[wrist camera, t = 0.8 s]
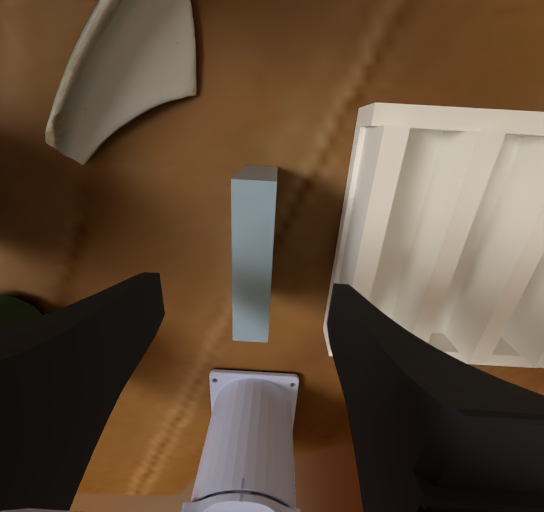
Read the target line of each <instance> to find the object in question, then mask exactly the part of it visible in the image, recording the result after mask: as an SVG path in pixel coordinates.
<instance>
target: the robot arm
mask: <svg viewBox="0 0 544 512" xmlns="http://www.w3.org/2000/svg"><path fill="white" fill-rule="evenodd" d="M164 315H165V311H164V304H163V297H162V290H161V282H160V275H159V273H147V272H144V273H141V274H138V275H136V276H134V277H131V278H129V279H127V280H125V281H123V282H120V283H118V284H116V285H114V286H112V287H110V288H108V289H105V290H103V291H101V292H99V293H97V294H94V295H92V296H90V297H87V298H85V299H83V300H80V301H78V302H76V303H74V304H71V305H69V306H66V307H64V308H61V309H59V310H56V311H53V312H50V313H48V314H45V315H42V316H39V317H36V318H33V319H30V320H27V321H24V322H20V323H17V324H14V325H10V326H7V327H3V328H0V512H79V511H69V510H70V507H71V504H72V502H73V499H74V497H75V494H76V492H77V489H78V487H79V484H80V482H81V480H82V477H83V475H84V472H85V470H86V468H87V465H88V463H89V461H90V458H91V456H92V454H93V451H94V449H95V447H96V444H97V442H98V440H99V438H100V436H101V433H102V431H103V429H104V427H105V425H106V422H107V420H108V418H109V416H110V414H111V412H112V410H113V408H114V406H115V404H116V402H117V400H118V398H119V396H120V394H121V392H122V390H123V388H124V386H125V385H126V383H127V381H128V380H129V378H130V376H131V375H132V373H133V372H134V370H135V368H136V367H137V365H138V363H139V362H140V360H141V359H142V357H143V355H144V354H145V352H146V351H147V349H148V347H149V346H150V344H151V342H152V341H153V339H154V337H155V336H156V334H157V331H158V329H159V327H160V325H161V322H162V320H163V317H164ZM327 330H328V337H329V344H330V348H331V352H332V355H333V359H334V362H335V366H336V369H337V373H338V376H339V380H340V383H341V387H342V390H343V394H344V398H345V402H346V406H347V411H348V417H349V422H350V428H351V433H352V439H353V445H354V452H355V457H356V464H357V471H358V477H359V484H360V491H361V498H362V504H363V512H544V396H543V395H541V394H538V393H535V392H533V391H530V390H528V389H525V388H522V387H520V386H517V385H515V384H512V383H509V382H507V381H504V380H502V379H499V378H497V377H495V376H493V375H490V374H488V373H486V372H484V371H481V370H479V369H477V368H475V367H473V366H470V365H468V364H466V363H464V362H462V361H460V360H458V359H456V358H454V357H452V356H450V355H449V354H447V353H445V352H443V351H441V350H439V349H437V348H435V347H434V346H432V345H430V344H428V343H427V342H425V341H423V340H422V339H420V338H419V337H417V336H415V335H414V334H412V333H411V332H409V331H408V330H406V329H405V328H403V327H402V326H400V325H399V324H398V323H396V322H395V321H393V320H392V319H391V318H389V317H388V316H387V315H385V314H384V313H383V312H382V311H380V310H379V309H378V308H377V307H375V306H374V305H373V304H372V303H371V302H369V301H368V300H367V299H366V298H365V297H363V296H362V295H361V294H360V293H359V292H358V291H356V290H355V289H354V288H353V287H351V286H350V285H349V284H337V283H333V289H332V295H331V301H330V307H329V313H328V318H327ZM209 378H210V395H211V411H212V415H211V419H210V424H209V428H208V432H207V436H206V440H205V444H204V448H203V452H202V457H201V461H200V465H199V469H198V473H197V477H196V481H195V485H194V490H193V494H192V498H191V502H184V503H183V507H182V511H181V512H301V510H300V509H296V499H295V476H294V453H293V424H294V417H295V409H296V401H297V393H298V386H299V377H298V375H296V374H287V373H270V372H253V371H236V370H219V369H214V370H211V372H210V375H209ZM292 383H294V384H292ZM80 512H81V511H80Z"/></svg>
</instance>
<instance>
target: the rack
mask: <svg viewBox="0 0 544 512" xmlns="http://www.w3.org/2000/svg"><path fill="white" fill-rule="evenodd" d="M333 283H337V284H349V285H350V286H351V287H353V288H354V289H355V290H356V291H358V292H359V293H360V294H361V295H362V296H363V297H365V298H366V299H367V300H368V301H369V302H371V303H372V304H373V305H374V306H375V307H377V308H378V309H379V310H380V311H382V312H383V313H384V314H385V315H387V316H388V317H389V318H391V319H392V320H393V321H395V322H396V323H398V324H399V325H400V326H402V327H403V328H405V329H406V330H408V331H409V332H411V333H412V334H414V335H415V336H417V337H419V338H420V339H422V340H423V341H425V342H427V343H428V344H430V345H432V346H434V347H435V348H437V349H439V350H441V351H443V352H445V353H447V354H449V355H450V356H452V357H454V358H456V359H458V360H460V361H462V362H464V363H466V364H478V365H495V366H512V367H529V368H544V112H535V111H517V110H500V109H482V108H464V107H446V106H429V105H411V104H393V103H373V104H370V105H367V106H364V107H361V108H359V110H358V116H357V122H356V128H355V134H354V141H353V147H352V153H351V159H350V165H349V171H348V178H347V184H346V190H345V196H344V202H343V208H342V215H341V221H340V227H339V233H338V239H337V245H336V252H335V258H334V264H333V270H332V276H331V282H330V289H329V295H328V301H327V307H326V313H325V320H324V326H323V331H324V335H325V340H326V344H327V349H328V353H329V356H333V355H332V352H331V348H330V344H329V337H328V330H327V318H328V313H329V307H330V301H331V295H332V289H333Z"/></svg>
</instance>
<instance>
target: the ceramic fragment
mask: <svg viewBox="0 0 544 512" xmlns="http://www.w3.org/2000/svg"><path fill="white" fill-rule="evenodd" d="M196 72H197V71H196V41H195V30H194V20H193V13H192V5H191V1H190V0H100V1H99V3H98V4H97V6H96V8H95V10H94V11H93V13H92V15H91V17H90V18H89V20H88V22H87V24H86V26H85V28H84V30H83V32H82V34H81V36H80V38H79V40H78V42H77V44H76V46H75V48H74V51H73V53H72V55H71V57H70V60H69V62H68V64H67V67H66V69H65V72H64V75H63V77H62V80H61V83H60V86H59V88H58V91H57V94H56V97H55V100H54V104H53V107H52V110H51V113H50V117H49V120H48V123H47V127H46V131H45V140H46V143H47V144H49V145H50V146H52V147H54V148H55V149H57V150H58V151H60V152H61V153H62V154H63V155H64V156H67V157H69V158H71V159H73V160H75V161H77V162H78V163H80V164H81V165H84V164H85V163H87V162H88V161H89V159H90V158H92V156H93V155H94V154H95V153H96V152H97V150H98V149H99V148H100V147H101V146H102V145H103V144H104V143H105V141H106V140H107V138H109V137H110V136H111V135H112V134H113V133H114V132H116V131H117V130H118V129H120V128H122V127H123V126H125V125H126V124H128V123H129V122H131V121H132V120H134V119H135V118H137V117H139V116H140V115H142V114H143V113H145V112H147V111H149V110H151V109H153V108H155V107H158V106H160V105H162V104H165V103H168V102H171V101H174V100H178V99H182V98H185V97H190V96H197V75H196Z"/></svg>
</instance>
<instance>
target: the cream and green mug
mask: <svg viewBox="0 0 544 512" xmlns="http://www.w3.org/2000/svg"><path fill="white" fill-rule="evenodd" d="M39 316H42V314H41V313H40V312H39V311H38V310H37V309H36V308H35V307H34V306H32V305H30V304H28V303H26V302H24V301H22V300H20V299H18V298H16V297H11V296H4V295H0V328H3V327H7V326H10V325H14V324H17V323H20V322H24V321H27V320H30V319H33V318H36V317H39Z"/></svg>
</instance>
